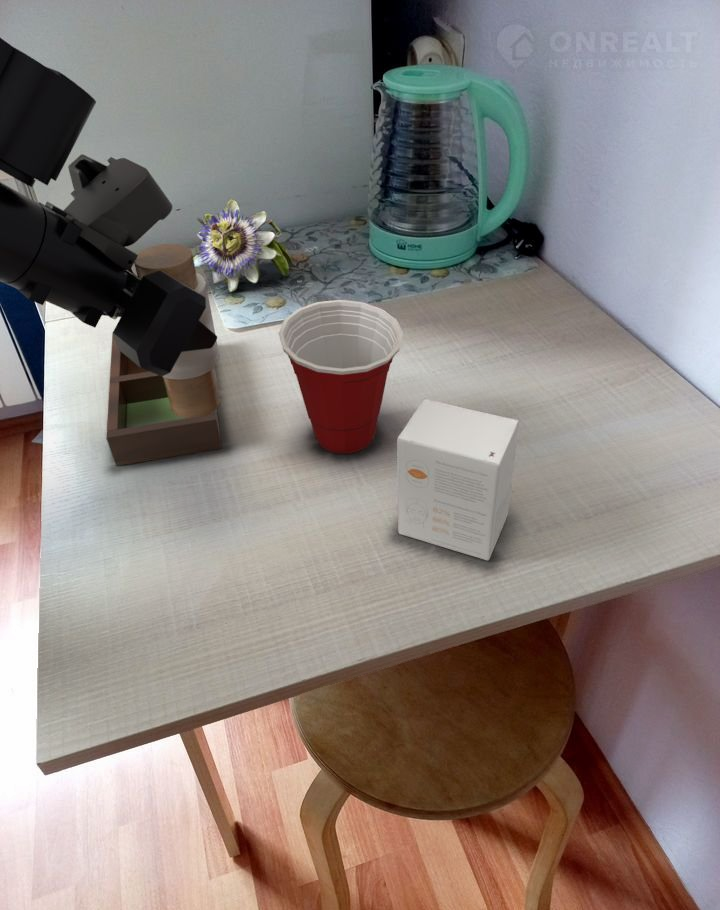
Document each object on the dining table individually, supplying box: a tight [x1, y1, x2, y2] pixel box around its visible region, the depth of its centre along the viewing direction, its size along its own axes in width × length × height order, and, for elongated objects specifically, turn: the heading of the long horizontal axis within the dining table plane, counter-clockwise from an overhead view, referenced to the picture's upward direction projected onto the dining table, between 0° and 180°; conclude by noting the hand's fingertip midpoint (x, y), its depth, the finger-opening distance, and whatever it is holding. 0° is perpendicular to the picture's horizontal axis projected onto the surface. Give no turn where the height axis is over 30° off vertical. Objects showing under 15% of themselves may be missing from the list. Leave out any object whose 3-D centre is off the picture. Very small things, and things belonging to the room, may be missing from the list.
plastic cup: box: [278, 299, 404, 455], centre depth 65 cm, size 11×11×12 cm
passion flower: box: [193, 198, 294, 293], centre depth 93 cm, size 11×11×12 cm
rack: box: [105, 332, 223, 467], centre depth 73 cm, size 19×10×4 cm, turn 13°
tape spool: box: [133, 243, 222, 418], centre depth 58 cm, size 6×6×14 cm
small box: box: [396, 398, 520, 561], centre depth 56 cm, size 8×6×10 cm
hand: (194, 328), depth 59 cm, fingers closed on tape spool, 5 cm apart
